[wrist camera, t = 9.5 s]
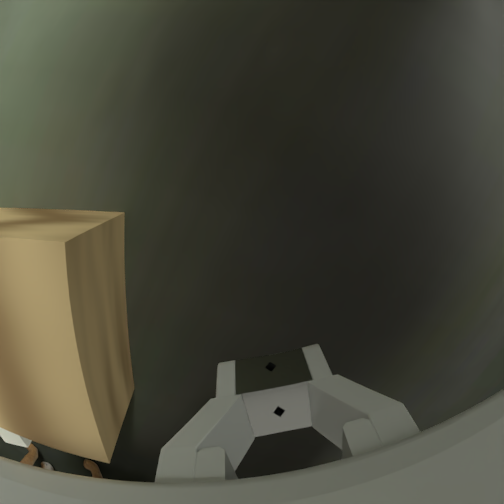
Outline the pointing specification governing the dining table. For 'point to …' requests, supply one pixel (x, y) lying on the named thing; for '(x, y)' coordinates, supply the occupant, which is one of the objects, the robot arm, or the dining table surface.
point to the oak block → (64, 329)
